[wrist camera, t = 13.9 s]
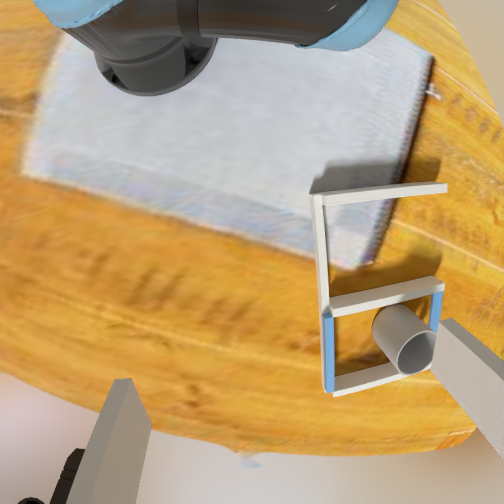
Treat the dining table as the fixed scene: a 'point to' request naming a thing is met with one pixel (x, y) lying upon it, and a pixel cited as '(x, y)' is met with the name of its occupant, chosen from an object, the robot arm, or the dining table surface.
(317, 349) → the dining table surface
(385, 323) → the cup
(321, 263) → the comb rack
